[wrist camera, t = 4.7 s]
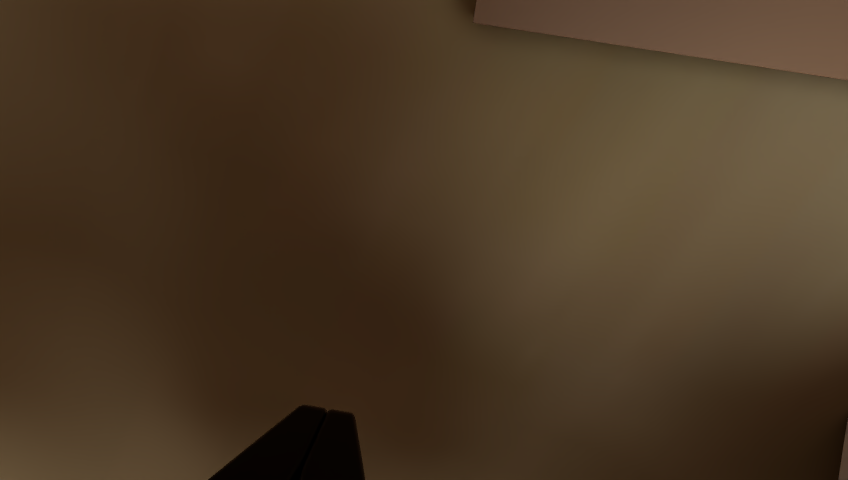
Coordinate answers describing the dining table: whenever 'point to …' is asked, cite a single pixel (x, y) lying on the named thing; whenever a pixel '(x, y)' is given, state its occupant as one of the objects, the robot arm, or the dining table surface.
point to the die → (844, 459)
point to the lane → (695, 28)
